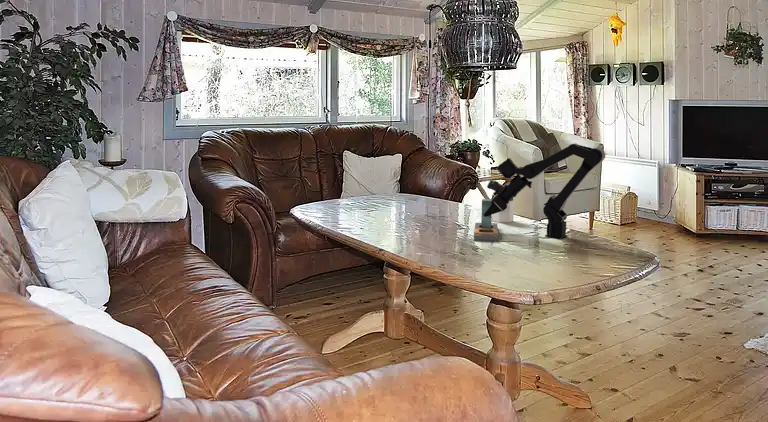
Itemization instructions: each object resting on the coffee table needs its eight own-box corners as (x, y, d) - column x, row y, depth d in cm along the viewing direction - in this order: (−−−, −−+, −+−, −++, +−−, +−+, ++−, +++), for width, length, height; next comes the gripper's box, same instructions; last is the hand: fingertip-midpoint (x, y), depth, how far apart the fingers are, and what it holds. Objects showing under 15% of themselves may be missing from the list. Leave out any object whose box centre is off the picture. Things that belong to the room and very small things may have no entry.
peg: (481, 230, 263) (482, 199, 261) (491, 230, 262) (492, 199, 260) (481, 232, 259) (481, 200, 257) (491, 232, 258) (492, 200, 256)
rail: (475, 227, 269) (475, 221, 269) (497, 228, 268) (497, 222, 267) (473, 240, 244) (473, 234, 244) (497, 241, 243) (497, 235, 242)
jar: (512, 219, 287) (513, 192, 285) (514, 222, 279) (515, 195, 277) (492, 219, 288) (492, 192, 286) (493, 222, 280) (494, 195, 278)
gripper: (499, 170, 265) (471, 196, 269) (499, 175, 247) (469, 203, 251) (518, 190, 265) (490, 215, 269) (519, 196, 247) (489, 223, 251)
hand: (484, 213), depth 260 cm, fingers open, 9 cm apart
